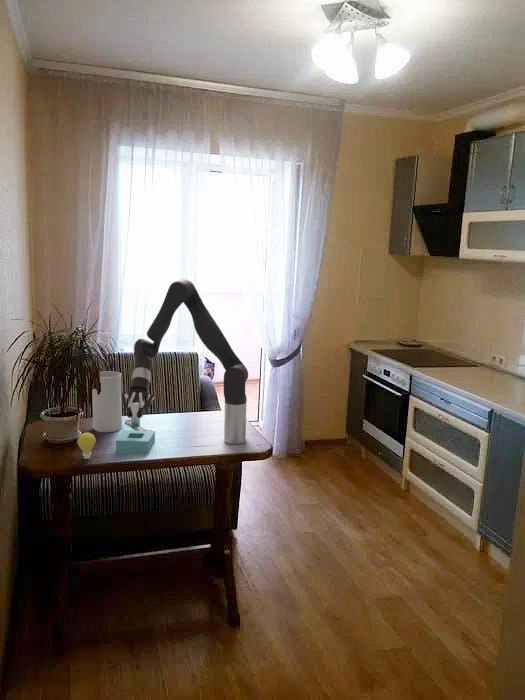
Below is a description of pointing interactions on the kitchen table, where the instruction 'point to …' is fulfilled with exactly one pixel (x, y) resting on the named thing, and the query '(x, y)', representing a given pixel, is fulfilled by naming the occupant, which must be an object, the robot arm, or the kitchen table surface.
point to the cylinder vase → (108, 403)
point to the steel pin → (135, 414)
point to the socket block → (135, 441)
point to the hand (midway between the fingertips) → (134, 417)
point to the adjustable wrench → (137, 427)
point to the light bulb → (86, 444)
